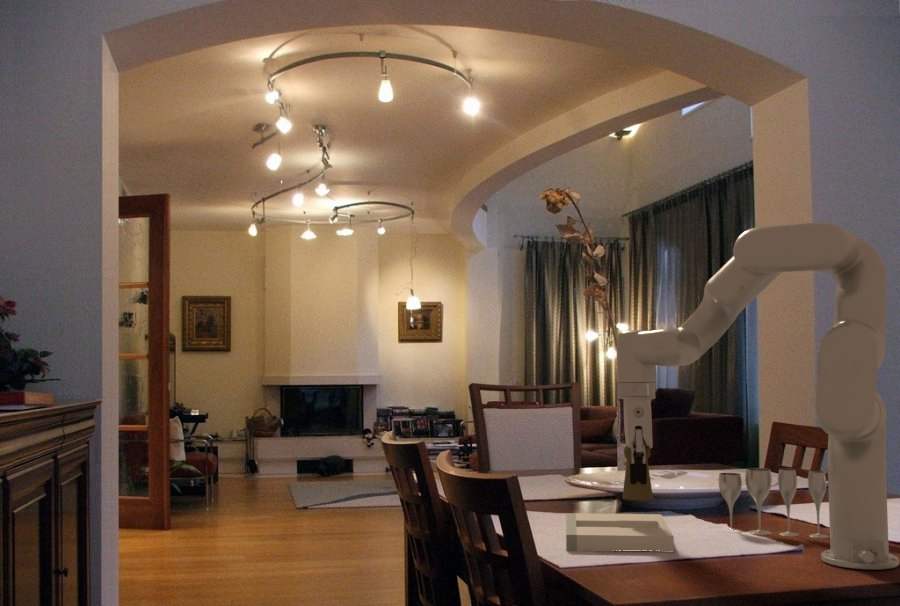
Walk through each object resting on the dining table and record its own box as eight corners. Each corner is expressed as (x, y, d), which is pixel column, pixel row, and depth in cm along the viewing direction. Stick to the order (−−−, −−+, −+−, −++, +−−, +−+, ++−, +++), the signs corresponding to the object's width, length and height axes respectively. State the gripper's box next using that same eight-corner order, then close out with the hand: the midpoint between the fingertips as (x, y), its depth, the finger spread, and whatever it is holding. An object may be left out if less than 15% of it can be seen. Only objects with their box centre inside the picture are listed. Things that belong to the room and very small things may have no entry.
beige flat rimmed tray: (673, 552, 175) (673, 536, 175) (566, 550, 178) (566, 534, 178) (661, 528, 199) (660, 514, 199) (566, 527, 201) (566, 513, 202)
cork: (653, 500, 185) (652, 444, 185) (622, 500, 186) (621, 444, 186) (652, 496, 191) (651, 441, 191) (622, 495, 192) (621, 441, 192)
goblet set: (718, 533, 194) (716, 468, 195) (721, 528, 200) (719, 465, 200) (865, 542, 184) (863, 474, 184) (864, 536, 189) (862, 470, 190)
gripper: (659, 393, 181) (660, 488, 180) (651, 389, 197) (652, 477, 196) (619, 393, 182) (621, 488, 181) (615, 389, 198) (616, 476, 197)
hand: (637, 481), depth 188 cm, fingers closed on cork, 3 cm apart
